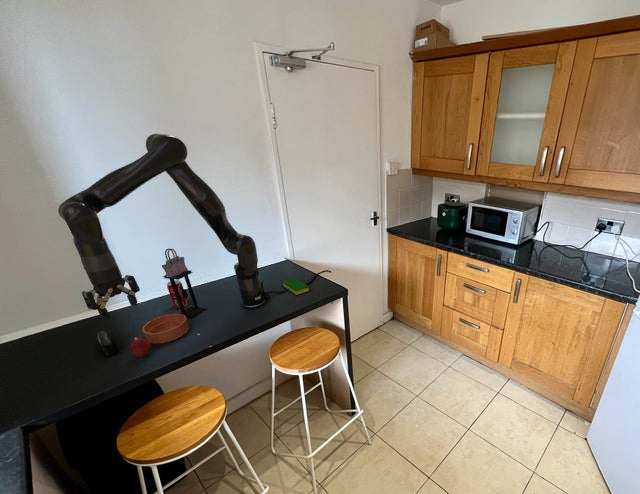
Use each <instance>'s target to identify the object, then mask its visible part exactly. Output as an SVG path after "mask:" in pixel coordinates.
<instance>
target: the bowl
mask: <svg viewBox="0 0 640 494" xmlns="http://www.w3.org/2000/svg"><path fill="white" fill-rule="evenodd" d="M141 329H142V330H141V332H142V334H143V336H144V339H145V340H147V341H148V342H149V343H150V344H153V345H157V344H165V343H170V342H173V341H175V340H177V339H179V338H181V337H183V336H184V335H185V334H187V333H188V332H189V330H190V324H189V321H188V318H186V316H185V315H183V314H179V313H169V314H165V315H161V316H158V317H155V318H153V319H151V320H149V321H148V322H147V323H145V324H144V325H143V326H142V328H141Z"/></svg>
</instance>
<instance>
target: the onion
mask: <svg viewBox="0 0 640 494" xmlns="http://www.w3.org/2000/svg"><path fill="white" fill-rule="evenodd" d="M151 350H152V343H149V342H148V341H147V340H146V338H139V337H137V336H136V337H134V340H133V341H132V343H130V346H129V352H130V353H131V355H133V356H135V357H138V358H143V357H144V358H145V357H146V356H147V355H149V353H150V352H151Z"/></svg>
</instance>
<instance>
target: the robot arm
mask: <svg viewBox="0 0 640 494" xmlns="http://www.w3.org/2000/svg"><path fill="white" fill-rule="evenodd" d="M145 148H146V149H145V150H146V151H147V152H146V153H145V154H143V155H142V156H141V157H139V158H137V159H136V160H134V161H132V162H130V163H128V164H126V165H123V166H121V167H119V168H116V169H115V170H113V171H111V172H108V173H107V174H106V175H104V176H103V177H101V178H100V179H98V180H97V181H95V182H94V183H93V184H91V185H90V186H89V187H88V188H86V189H84V190H81V191H80V192H78V193H76V194H74V195H72V196H70V197H68V198H67V199H65V200H64V201H63V202H61V203H60V205H58V209H57V212H58V215H59V216H60V218H61V219H62V220H63V221H64V222H65V223H66V225H67V227H68V229H69V232H70V233H71V235H72V237H73V238H72V241H73V244H74V246H75V249H76V251H77V253H78V255H79V258H80V261H81V264H82V267H83V270H84V271H85V273H86V275H87V277H88V279H89V282H90V283H91V285H92V287H93V288H92V289H90V290H83V291H82V292H81V295H82V297H83V300H84V302H85V305H86V308H87V309H88V310H93V311H97V312H98V314H99V317H100V318H103V319H107V320H108V319H111V316H110V315H111V314H110V313H109V311H108V308H107V307H106V305H107V303H108V302H109V300H110V298H111V299H112V298H114V297H116V296H118V295H122V293H123V294H125V295H126V297H127V300H128V302H129V305H130V306H132V307H136V306H138V302H139V301H138V300H137V297H136V293H139V292H140V291H141V288H140V287H139V284H138V282H137V280H136V277H135V275H131V274H126V275H125V276H124V277H123V274H122V272H121V269H120V268H119V264H118V262H117V260H116V258H115V256H114V254H113V253H112V250H111V249H110V247H109V246H110V245H109V244H108V242H107V239H106V238H105V235H104V232H103V228H102V223H101V221H100V218H99V215H98V214H99V213H101V212H102V211H104V210H105V209H106V208H111V207H114V206H116V205H117V204H118V203H120V202H121V201H123V200H124V199H125V198H127V197H128V196H130V195H131V194H132V193H133V192H135V191H136V190H137V189H139V188H140V187H141V186H143V185H144V184H146V183H148V182H149V181H151V180H153V179H154V178H156V177H157V176H159V175H161V174H163V173H166V174H167V175H168V176H169V177H170V178H171V179H172V181H173V182H174V183H175V185H176V186H177V187H178V189H179V190H180V191H181V193H182V194H183V195H184V196H185V198H186V199H187V201H188V202H189V203H190V205H191V206H192V207H193V209H194V210H195V211H196V212H197V213H198V214H199V216H200V217H201V218H202V219H203V220H204V222H205V223H206V224H207V225H208V226H209V227H210V229H211V230H212V231H213V232H214V233H215V235H216V237H217V238H218V239H219V241H220V243H221V244H222V246H223V247H224V249H225V250H226V251H227V253H229V254H231V255H234V256H236V257H237V262H236V263H235V264H234V265H233V269H234V273H235V278H236V281H237V285H238V289H239V293H240V296H241V300H242V305H243V307H244V308H246V309H255V308H259V307H261V306H263V305H264V304H265V303H266V300H267V299H269V298H270V297H271V295H270V294H282V293H286V292H289V291H290V290H289V289H287V288H286V289H284V290H281V291H276V290H267V289H265V288H264V284H263V281H261V277H260V272H259V268H258V264H259V263H258V262H259V257H258V253H257V252H258V251H257V245H256V242H255V240H254V238H253V237H251V236H250V235H247V234H243V233H239V232H238V231H237V230H236V229H235V228H234V227H233V225H232V224H231V223H230V221H229V219H228V216H227V210H226V207H225V205H224V203H223V201H222V200H221V199H220V196H218V194H217V193H216V192H215V191H214V189H213V188H212V187H211V186H210V185H209V184H208V183H207V182H206V181H205V180H204V179H202V178H201V177H200V176H199V175H198V174H197V173H196V172H195V171H194V170H193V169H192V168H191V167H190V165H189V164H188V163H187V161H186V160H187V158H188V155H189V154H188V153H189V151H188V148H187V146H186V143H184V141H183V140H182V139H180V138H178V137H177V136H174V135H171V134H166V133H152V134H150V135H149V136H147V137H146V139H145ZM323 273H332V270H329V269H326V270H321V271H320V272H317V273H315V274H314V275H313V276H312V277H311V280H309V281H307V282H305V283H304V282H303V283H304V284H306V285H307V286H308V285H309V284H311V283H312V282H313V281H314V280H315V278H316V277H317V276H319V275H321V274H323ZM126 283H127V285H128V287H129V288H127V287H126V285H125V284H126ZM95 297H96V299H95Z"/></svg>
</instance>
